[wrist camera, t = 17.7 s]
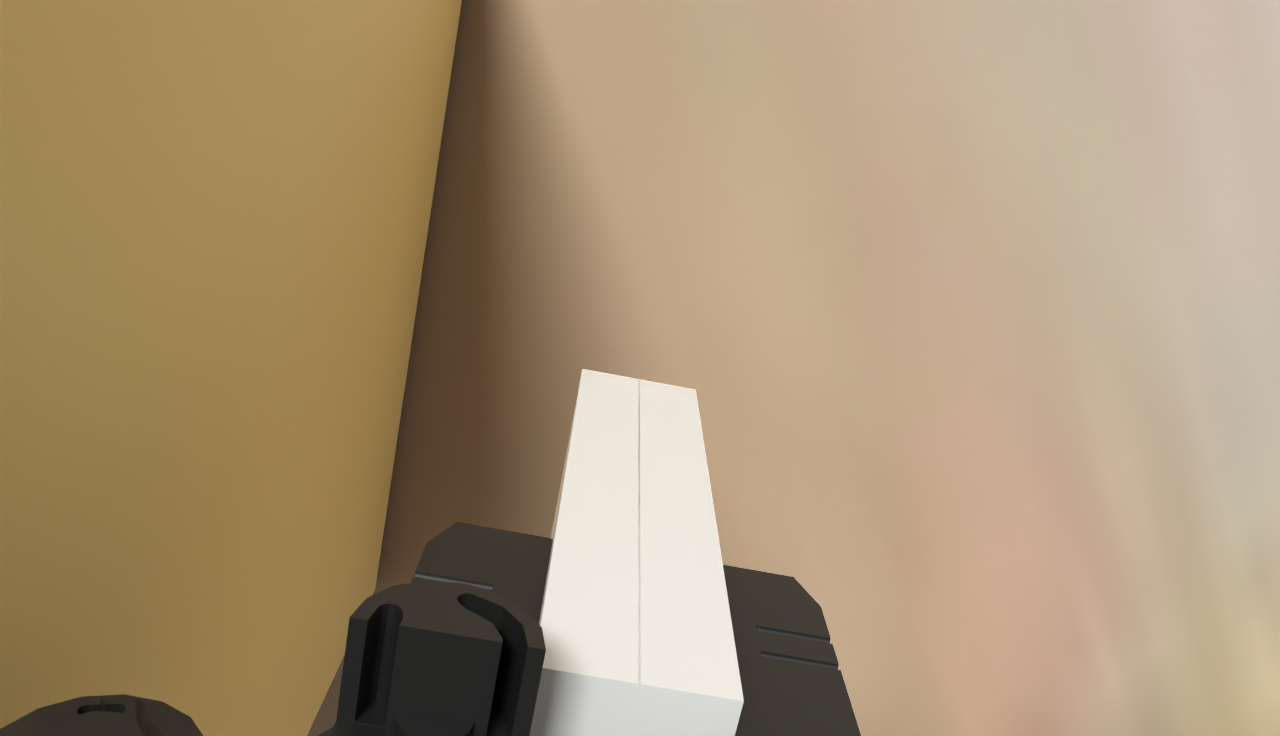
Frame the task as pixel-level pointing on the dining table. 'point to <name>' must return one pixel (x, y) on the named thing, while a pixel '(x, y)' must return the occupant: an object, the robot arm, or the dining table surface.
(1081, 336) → the dining table surface
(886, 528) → the dining table surface
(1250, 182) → the dining table surface
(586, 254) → the dining table surface
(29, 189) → the tan boxy piece
